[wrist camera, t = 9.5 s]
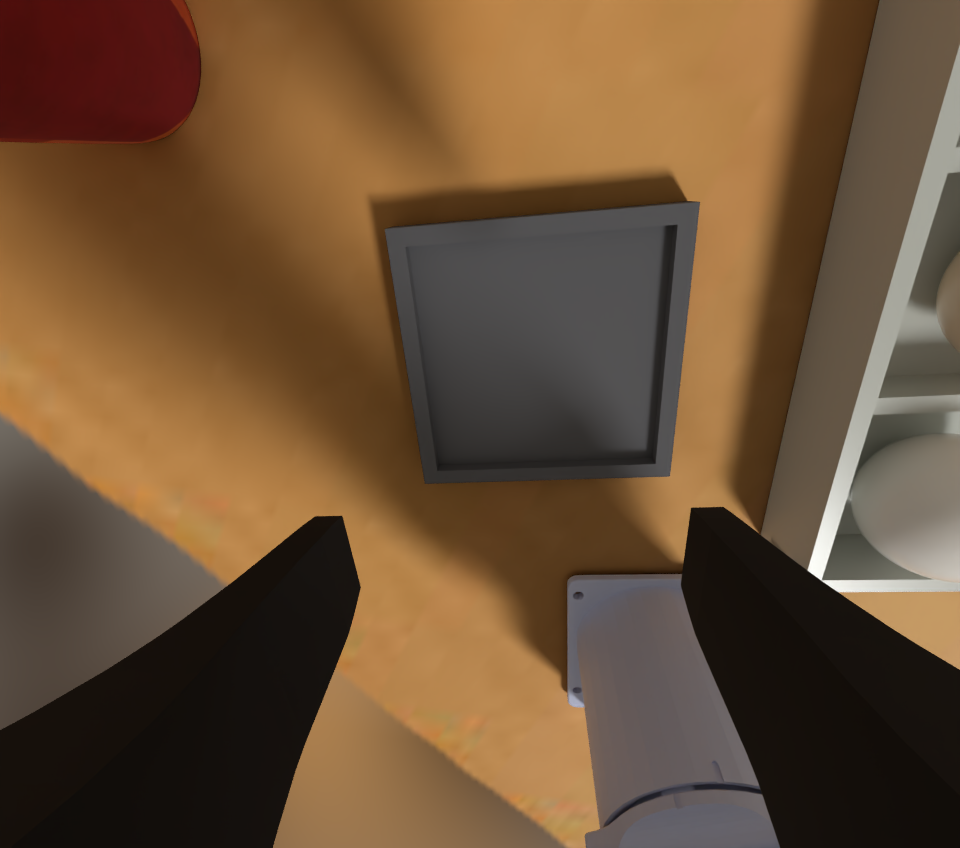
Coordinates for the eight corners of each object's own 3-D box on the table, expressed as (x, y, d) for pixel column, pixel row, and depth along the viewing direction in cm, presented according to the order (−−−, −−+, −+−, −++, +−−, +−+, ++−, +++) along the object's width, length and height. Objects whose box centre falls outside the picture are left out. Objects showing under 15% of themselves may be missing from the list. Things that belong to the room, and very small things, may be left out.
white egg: (940, 518, 19) (1067, 617, 15) (809, 520, 20) (894, 617, 15) (987, 406, 17) (1153, 482, 13) (838, 412, 18) (948, 488, 13)
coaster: (662, 462, 20) (669, 476, 19) (429, 469, 21) (424, 483, 20) (688, 200, 16) (700, 201, 15) (392, 226, 17) (384, 228, 16)
